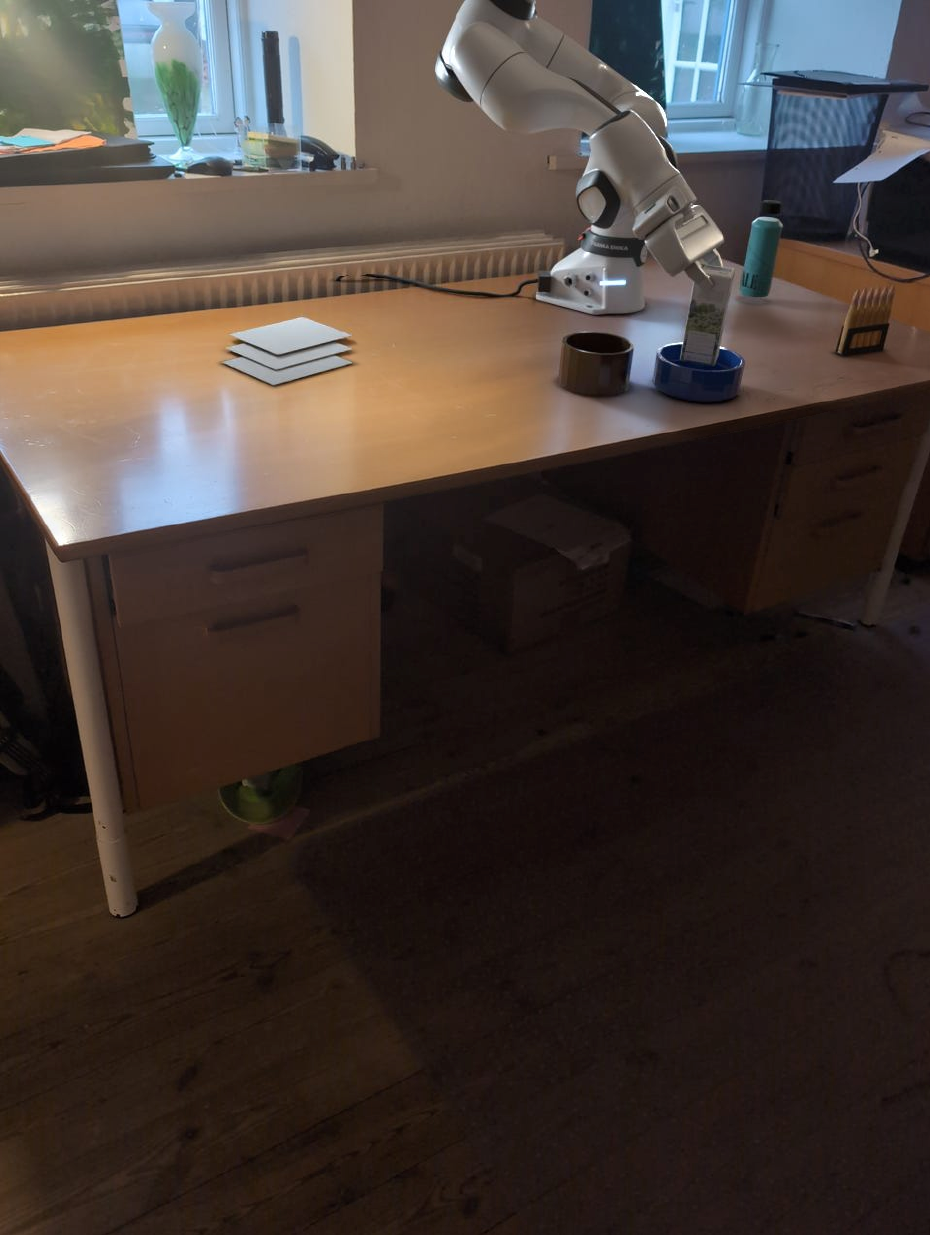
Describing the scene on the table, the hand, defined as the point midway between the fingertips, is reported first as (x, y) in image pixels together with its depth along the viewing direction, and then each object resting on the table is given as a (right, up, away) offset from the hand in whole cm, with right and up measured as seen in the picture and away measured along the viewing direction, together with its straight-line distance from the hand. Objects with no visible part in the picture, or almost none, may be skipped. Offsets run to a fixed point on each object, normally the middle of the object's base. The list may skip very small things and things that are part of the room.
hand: (716, 284), depth 158 cm
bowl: (-1, -14, +10) cm, 17 cm away
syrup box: (-1, -10, +7) cm, 12 cm away
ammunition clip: (+34, -3, +31) cm, 46 cm away
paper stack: (-70, -6, +16) cm, 72 cm away
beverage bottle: (+22, +15, +57) cm, 63 cm away
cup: (-18, -14, +9) cm, 24 cm away
